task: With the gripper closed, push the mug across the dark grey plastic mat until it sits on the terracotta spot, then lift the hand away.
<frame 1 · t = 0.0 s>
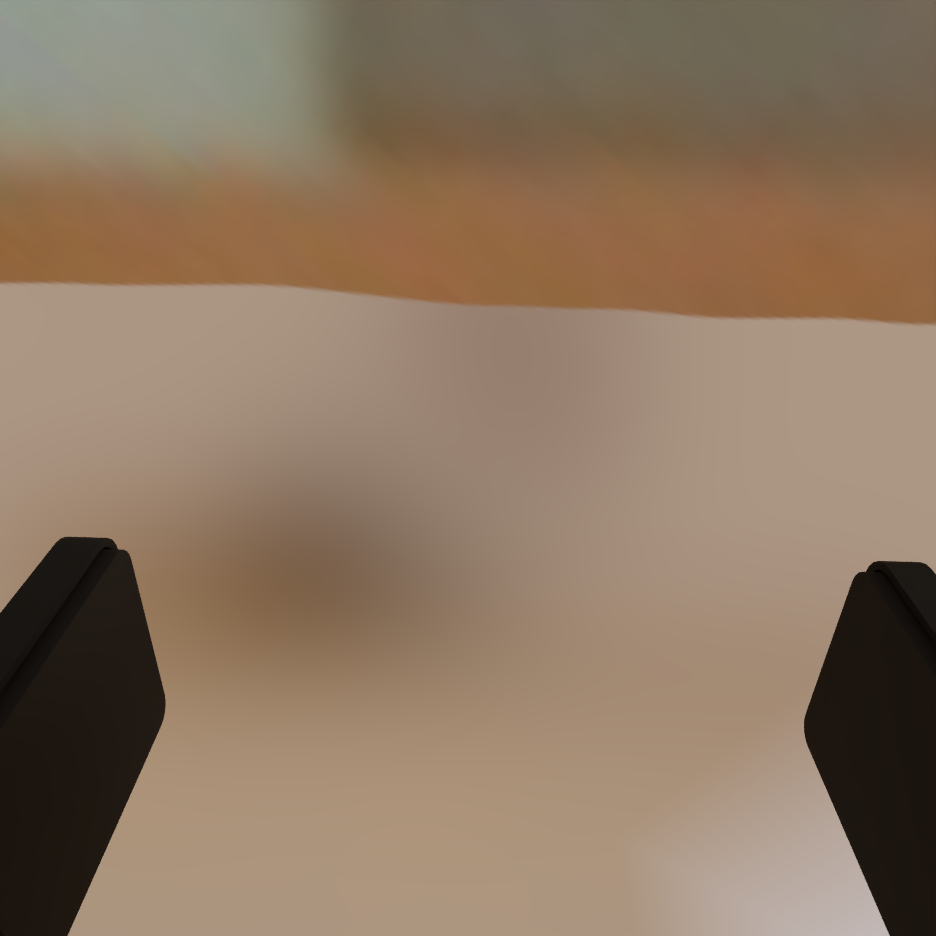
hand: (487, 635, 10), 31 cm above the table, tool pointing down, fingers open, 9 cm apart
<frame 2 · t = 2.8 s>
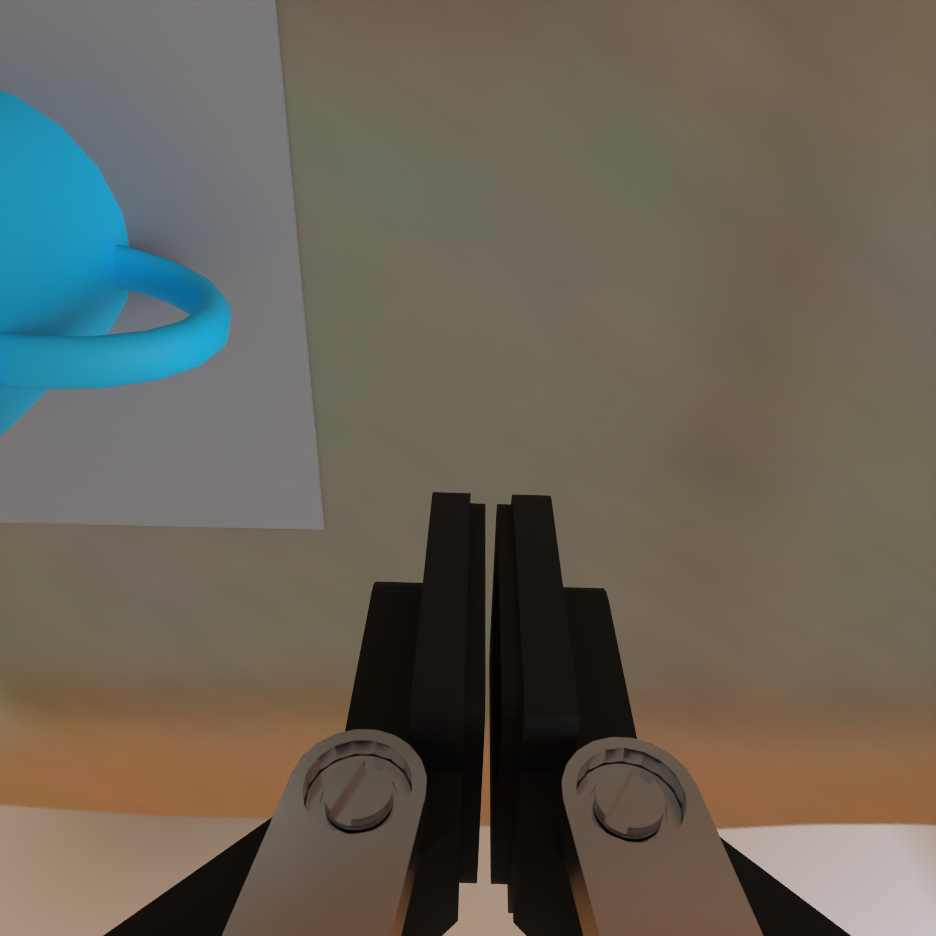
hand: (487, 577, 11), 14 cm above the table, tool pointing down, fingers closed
mug: (58, 243, 23), resting on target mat
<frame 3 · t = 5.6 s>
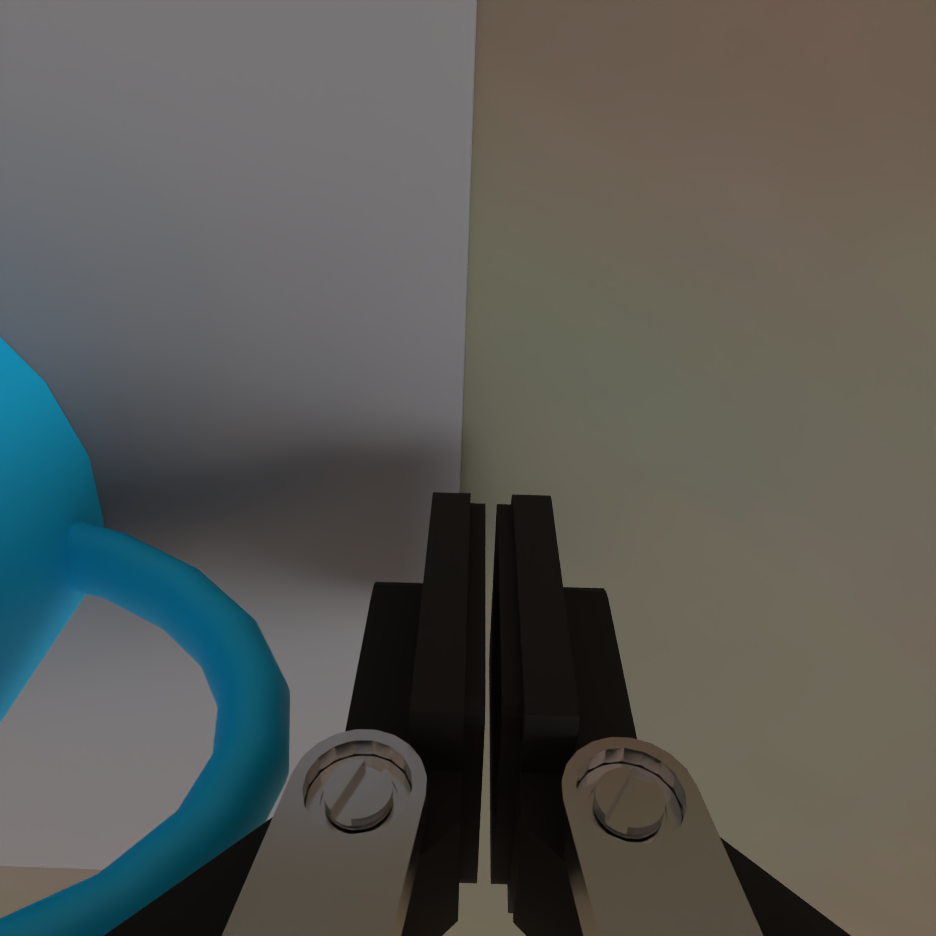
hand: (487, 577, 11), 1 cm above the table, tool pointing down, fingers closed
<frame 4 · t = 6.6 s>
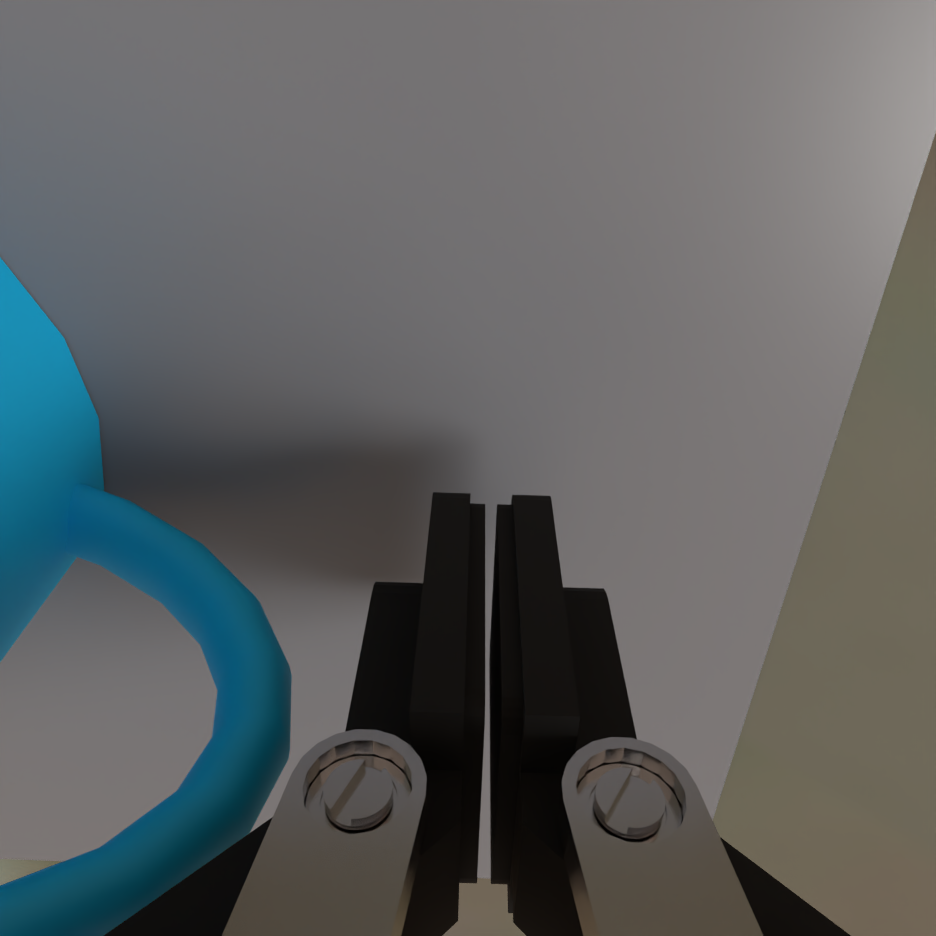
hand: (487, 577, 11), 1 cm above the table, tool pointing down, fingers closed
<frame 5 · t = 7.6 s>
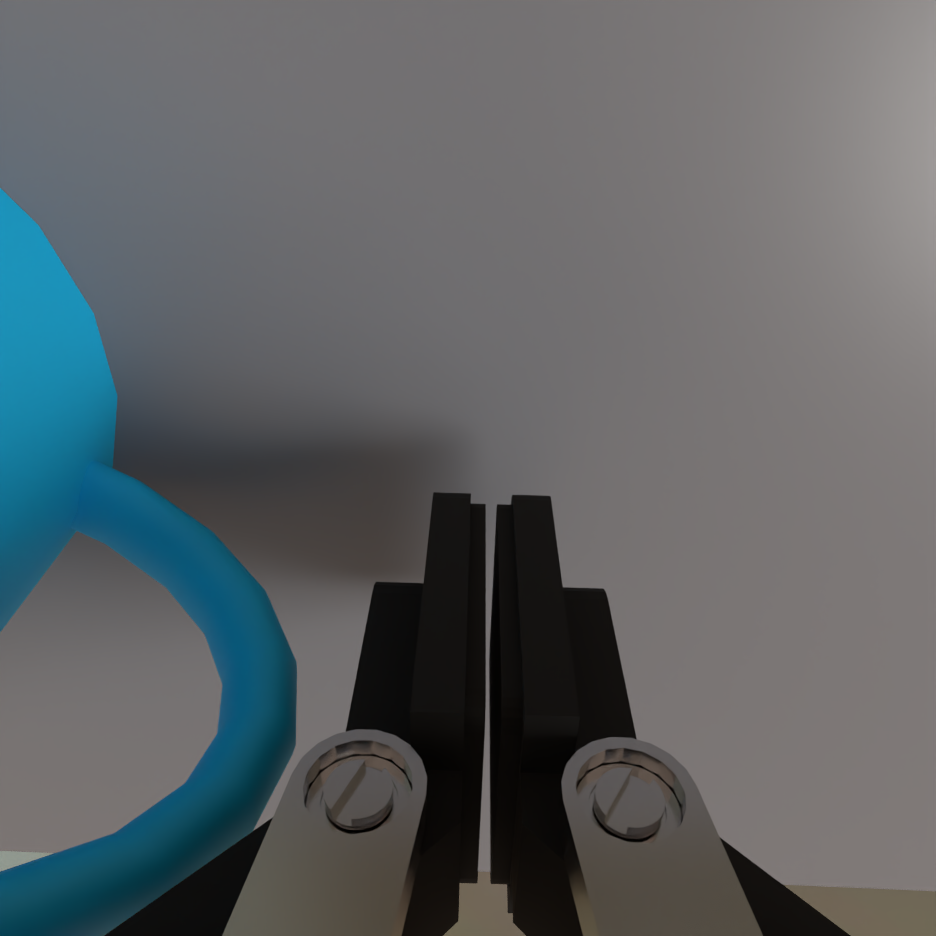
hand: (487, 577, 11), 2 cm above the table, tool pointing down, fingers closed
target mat: (111, 481, 12), on the table
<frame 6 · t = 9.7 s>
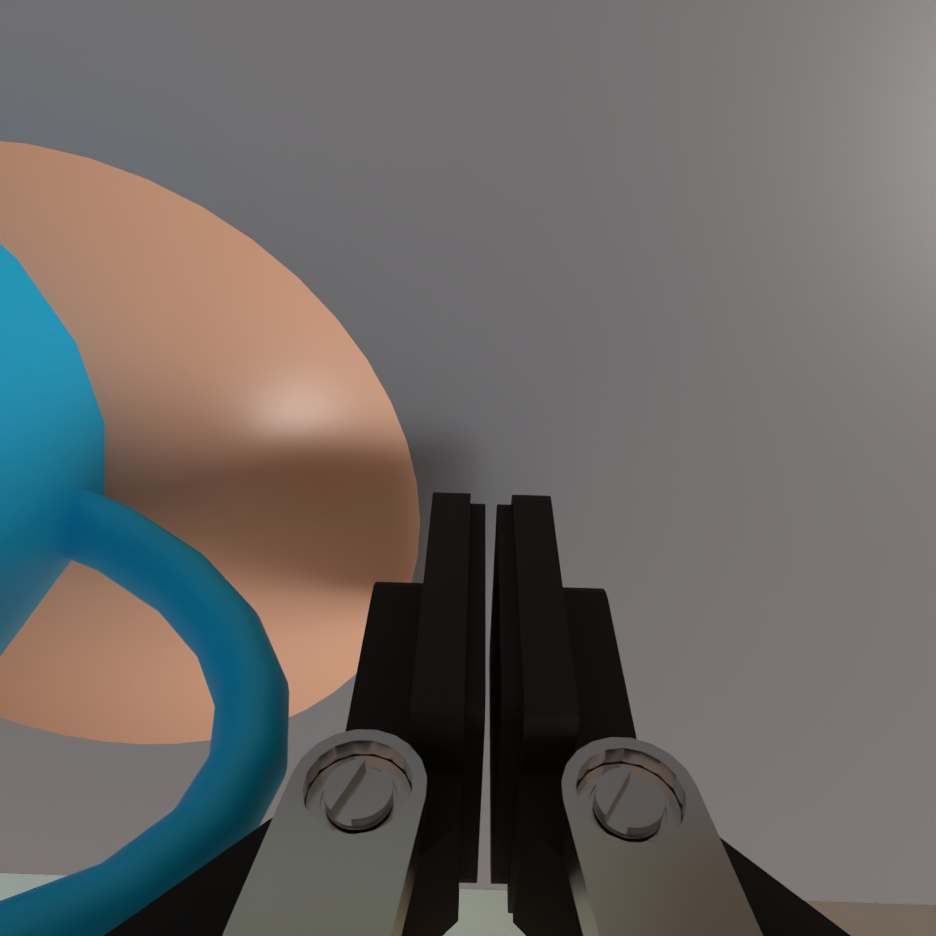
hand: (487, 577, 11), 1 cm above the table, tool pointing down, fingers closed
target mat: (577, 522, 12), on the table
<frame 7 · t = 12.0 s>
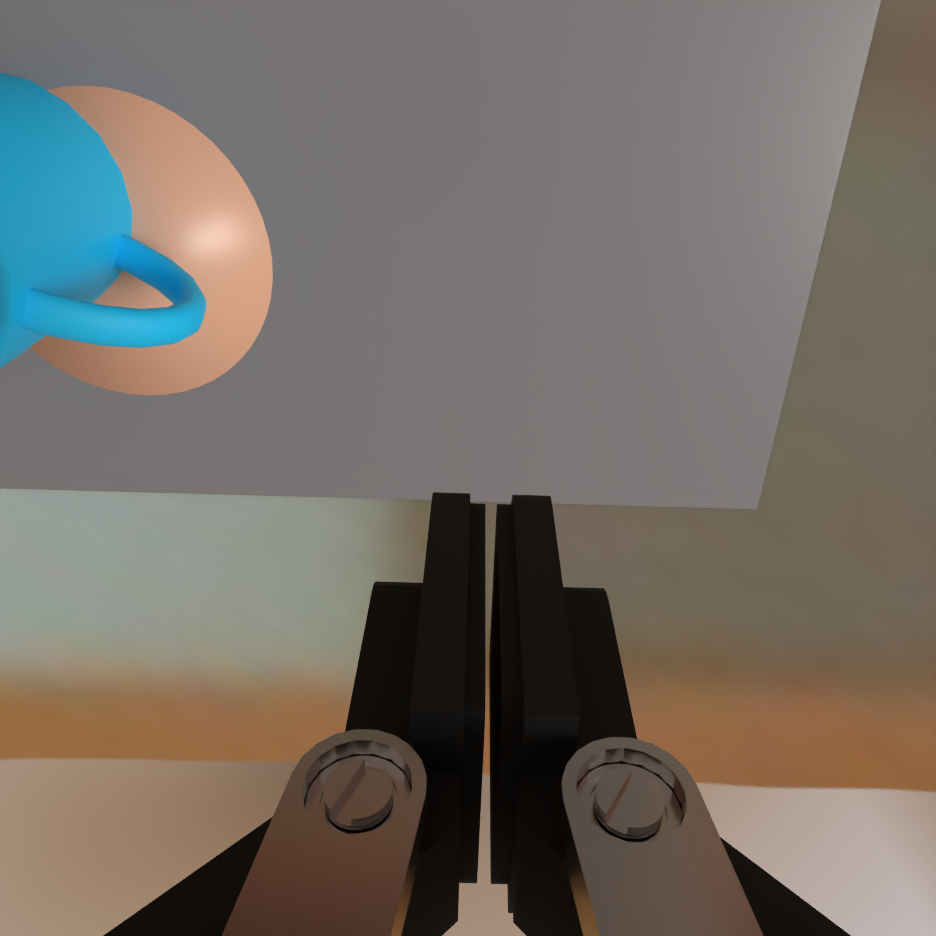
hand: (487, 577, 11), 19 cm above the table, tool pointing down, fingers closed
mug: (72, 220, 28), resting on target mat
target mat: (342, 260, 28), on the table
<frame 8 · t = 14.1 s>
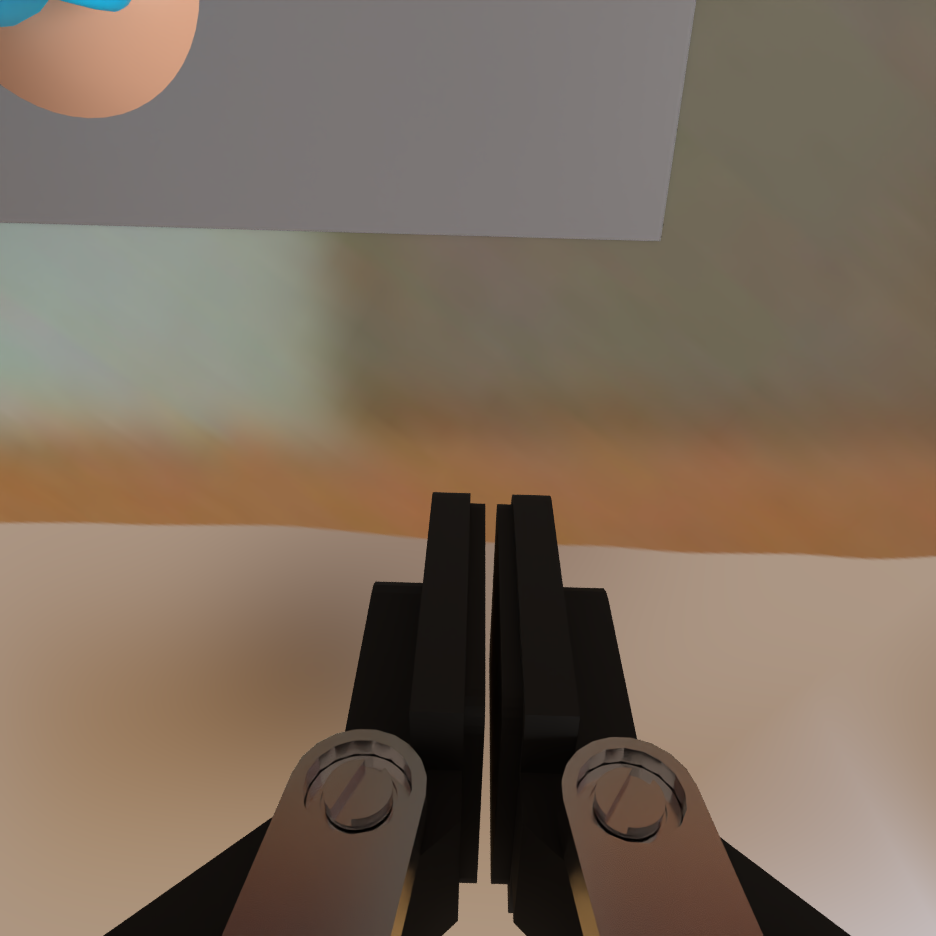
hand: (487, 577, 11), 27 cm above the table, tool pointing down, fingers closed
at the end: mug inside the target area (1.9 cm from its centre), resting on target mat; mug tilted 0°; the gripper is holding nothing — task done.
